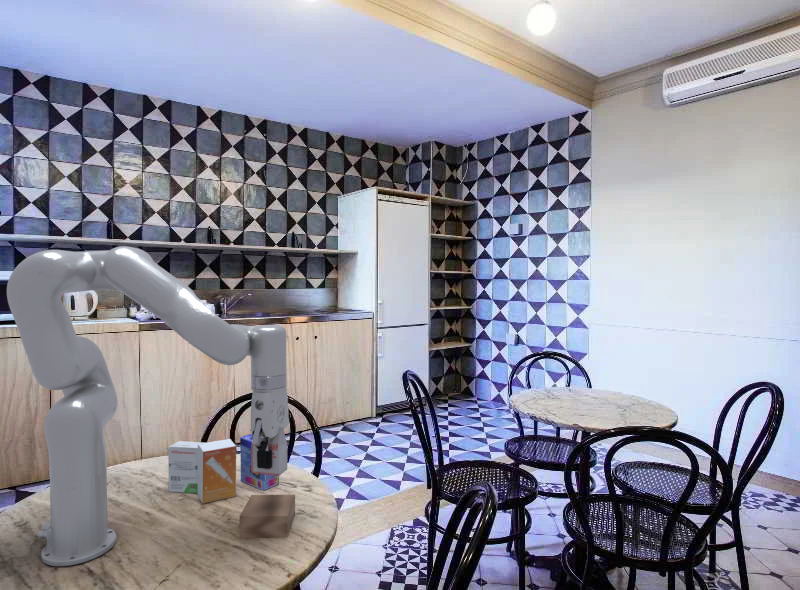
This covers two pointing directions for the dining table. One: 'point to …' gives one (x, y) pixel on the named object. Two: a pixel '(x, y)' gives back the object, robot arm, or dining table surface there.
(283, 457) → the white carton
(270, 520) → the base block
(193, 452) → the ink box
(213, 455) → the small box
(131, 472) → the dining table surface
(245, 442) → the ink cartridge box
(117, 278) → the robot arm
